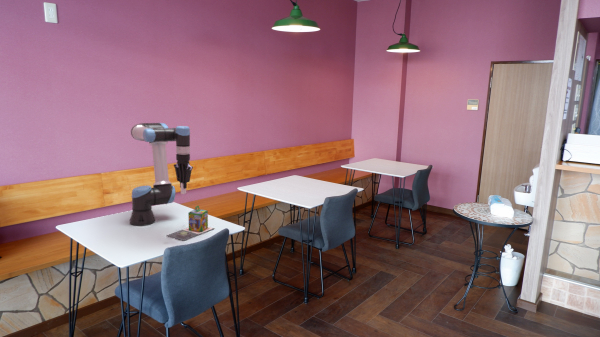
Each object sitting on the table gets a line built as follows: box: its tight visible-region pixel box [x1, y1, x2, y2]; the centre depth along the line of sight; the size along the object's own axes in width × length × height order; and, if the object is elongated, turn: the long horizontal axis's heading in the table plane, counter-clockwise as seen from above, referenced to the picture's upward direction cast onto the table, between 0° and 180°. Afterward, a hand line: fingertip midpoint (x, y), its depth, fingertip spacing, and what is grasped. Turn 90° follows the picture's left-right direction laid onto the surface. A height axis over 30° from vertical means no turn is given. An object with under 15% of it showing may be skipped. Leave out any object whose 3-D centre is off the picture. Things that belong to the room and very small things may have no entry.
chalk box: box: [188, 204, 209, 232], centre depth 243 cm, size 9×9×15 cm
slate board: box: [166, 226, 215, 242], centre depth 240 cm, size 14×26×2 cm, turn 151°
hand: (183, 193), depth 227 cm, fingers closed
